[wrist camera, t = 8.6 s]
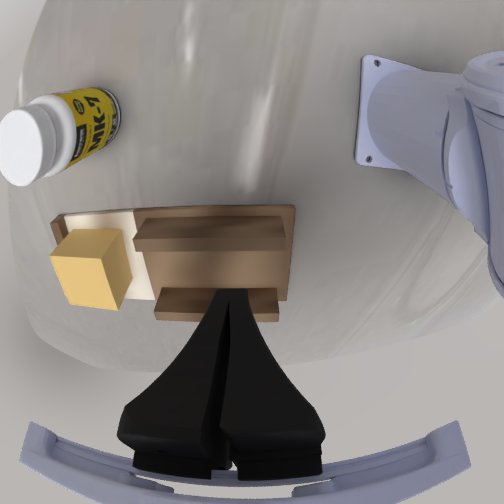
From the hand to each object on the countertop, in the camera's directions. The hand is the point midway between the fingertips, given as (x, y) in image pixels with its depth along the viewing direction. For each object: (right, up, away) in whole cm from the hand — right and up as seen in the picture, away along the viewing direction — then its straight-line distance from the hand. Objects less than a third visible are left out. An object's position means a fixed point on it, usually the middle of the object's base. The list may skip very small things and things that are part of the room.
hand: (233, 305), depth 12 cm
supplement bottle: (-10, +12, +3) cm, 16 cm away
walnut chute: (-6, +2, +10) cm, 12 cm away
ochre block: (-12, +2, +9) cm, 15 cm away
